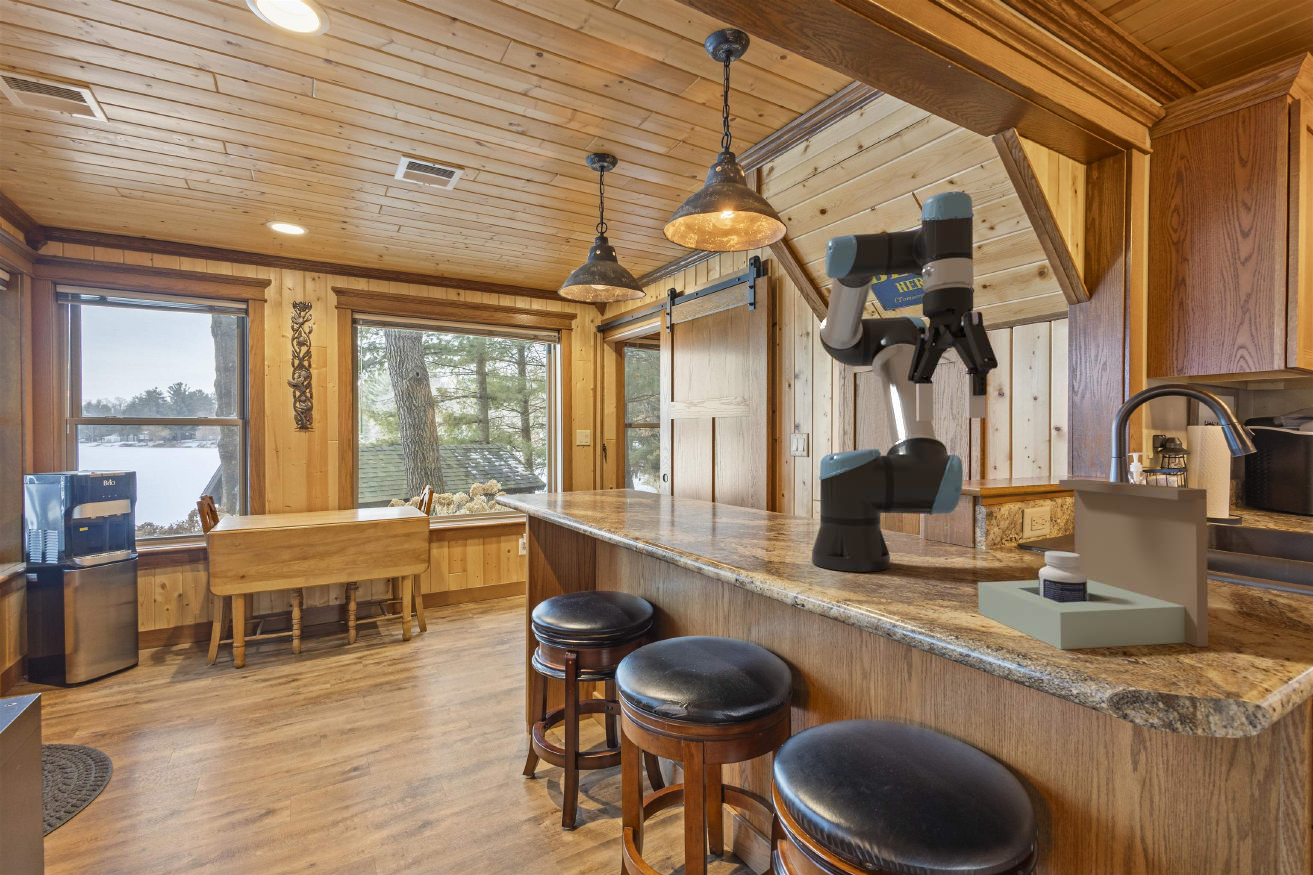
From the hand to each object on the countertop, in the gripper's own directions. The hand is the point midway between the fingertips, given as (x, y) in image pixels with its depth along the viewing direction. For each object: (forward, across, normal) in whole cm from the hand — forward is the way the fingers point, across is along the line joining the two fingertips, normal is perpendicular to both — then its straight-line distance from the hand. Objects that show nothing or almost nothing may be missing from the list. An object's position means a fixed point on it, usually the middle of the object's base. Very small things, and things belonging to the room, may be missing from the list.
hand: (948, 419), depth 97 cm
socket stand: (+29, +18, +7) cm, 35 cm away
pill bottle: (+29, +18, +4) cm, 34 cm away
